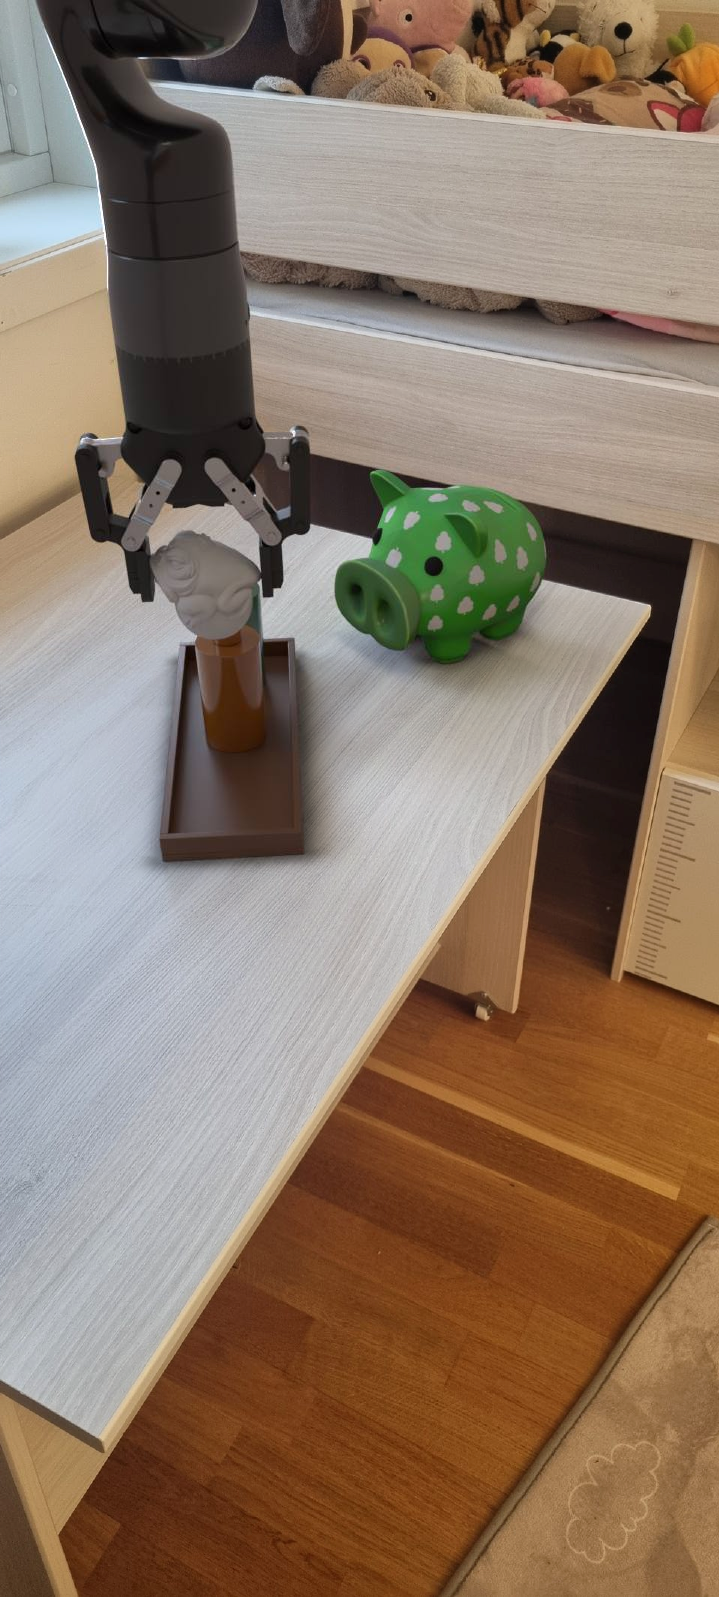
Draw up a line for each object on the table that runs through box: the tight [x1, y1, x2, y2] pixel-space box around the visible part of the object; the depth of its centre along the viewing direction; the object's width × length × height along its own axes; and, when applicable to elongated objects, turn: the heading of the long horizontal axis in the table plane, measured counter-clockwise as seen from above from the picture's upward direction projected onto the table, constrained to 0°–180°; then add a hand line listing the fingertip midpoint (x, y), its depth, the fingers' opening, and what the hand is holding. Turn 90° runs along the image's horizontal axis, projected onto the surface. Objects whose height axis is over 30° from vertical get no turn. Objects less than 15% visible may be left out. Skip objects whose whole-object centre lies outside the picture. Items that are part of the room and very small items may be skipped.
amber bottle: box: [194, 625, 267, 753], centre depth 94 cm, size 5×5×12 cm
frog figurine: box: [149, 529, 261, 640], centre depth 76 cm, size 6×7×7 cm
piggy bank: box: [333, 469, 547, 664], centre depth 106 cm, size 14×18×15 cm
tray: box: [158, 637, 305, 862], centre depth 96 cm, size 27×10×2 cm, turn 4°
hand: (209, 593), depth 77 cm, fingers closed on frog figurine, 7 cm apart
